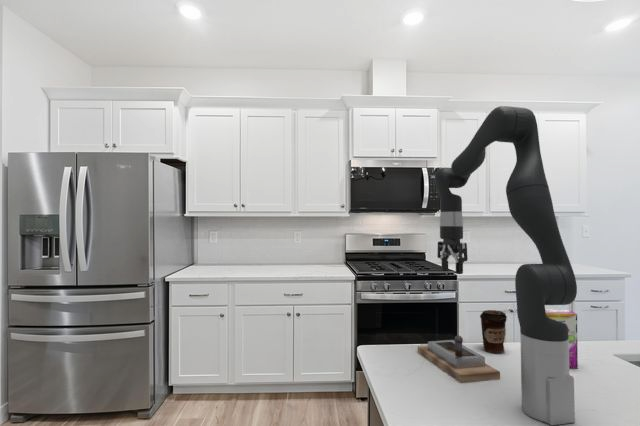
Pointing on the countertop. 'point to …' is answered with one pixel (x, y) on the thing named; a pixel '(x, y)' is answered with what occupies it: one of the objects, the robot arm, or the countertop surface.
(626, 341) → the countertop surface
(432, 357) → the board
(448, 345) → the grey picture frame
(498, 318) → the coffee cup
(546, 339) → the robot arm
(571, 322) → the candy bar box
